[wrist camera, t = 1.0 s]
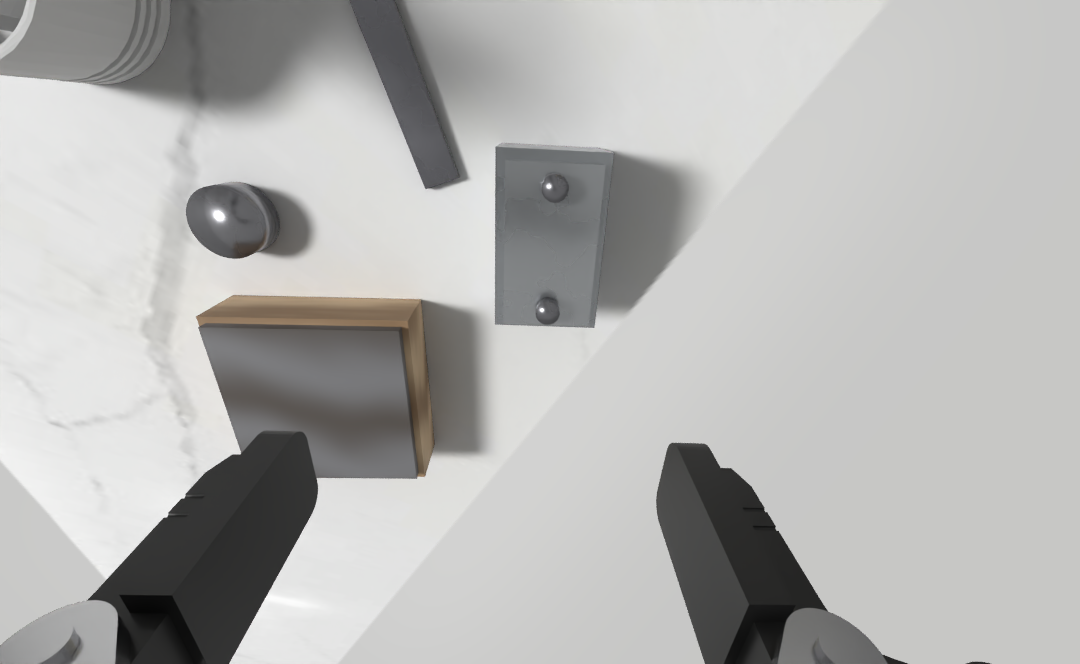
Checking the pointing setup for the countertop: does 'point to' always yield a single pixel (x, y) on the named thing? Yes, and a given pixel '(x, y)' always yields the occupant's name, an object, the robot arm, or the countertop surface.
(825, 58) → the countertop surface
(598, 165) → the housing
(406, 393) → the stand
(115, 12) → the engine component
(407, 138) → the bar
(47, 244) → the countertop surface
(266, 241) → the dark grey domed cap
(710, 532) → the robot arm
